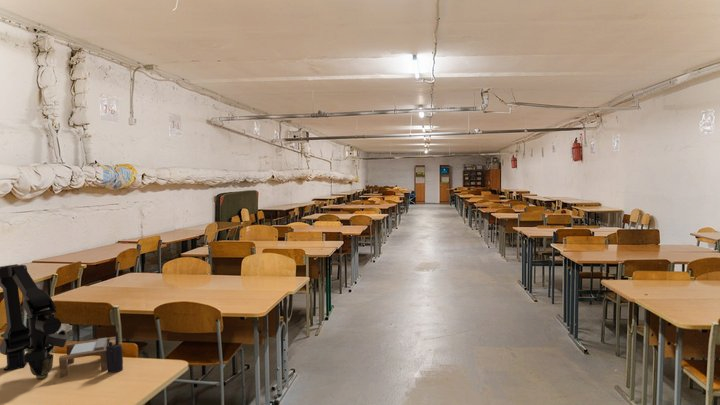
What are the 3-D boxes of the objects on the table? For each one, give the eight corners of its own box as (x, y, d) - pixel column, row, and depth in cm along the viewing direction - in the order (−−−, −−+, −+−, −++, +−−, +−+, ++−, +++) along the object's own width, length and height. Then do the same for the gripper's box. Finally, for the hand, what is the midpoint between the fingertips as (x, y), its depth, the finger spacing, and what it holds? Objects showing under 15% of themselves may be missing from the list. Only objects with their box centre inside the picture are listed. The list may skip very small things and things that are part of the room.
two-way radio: (123, 367, 170) (121, 329, 169) (124, 371, 166) (122, 332, 165) (106, 371, 167) (104, 332, 166) (107, 375, 163) (105, 335, 162)
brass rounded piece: (41, 383, 158) (40, 361, 157) (24, 382, 159) (22, 360, 159) (59, 374, 165) (58, 353, 165) (43, 373, 166) (41, 352, 166)
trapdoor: (75, 348, 175) (75, 342, 175) (107, 343, 179) (107, 337, 179) (70, 358, 165) (69, 351, 165) (104, 352, 169) (103, 346, 169)
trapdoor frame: (68, 362, 176) (67, 343, 176) (117, 354, 183) (116, 336, 183) (60, 378, 162) (58, 357, 161) (113, 369, 169) (112, 349, 168)
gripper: (60, 333, 156) (62, 377, 157) (70, 318, 173) (72, 358, 174) (21, 338, 151) (24, 383, 152) (35, 323, 168) (38, 363, 169)
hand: (41, 371), depth 162 cm, fingers closed on brass rounded piece, 7 cm apart
